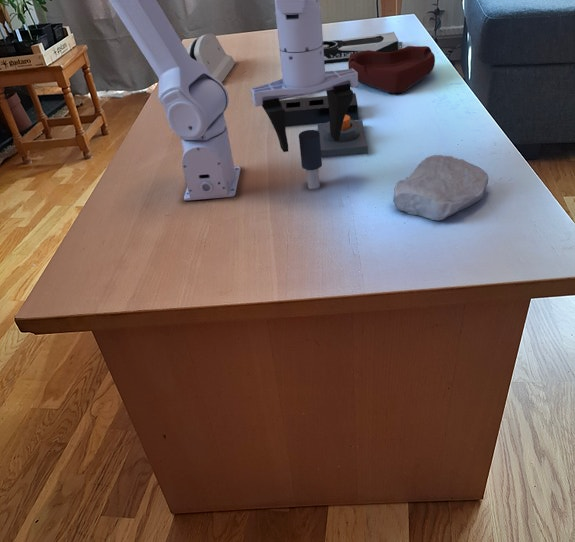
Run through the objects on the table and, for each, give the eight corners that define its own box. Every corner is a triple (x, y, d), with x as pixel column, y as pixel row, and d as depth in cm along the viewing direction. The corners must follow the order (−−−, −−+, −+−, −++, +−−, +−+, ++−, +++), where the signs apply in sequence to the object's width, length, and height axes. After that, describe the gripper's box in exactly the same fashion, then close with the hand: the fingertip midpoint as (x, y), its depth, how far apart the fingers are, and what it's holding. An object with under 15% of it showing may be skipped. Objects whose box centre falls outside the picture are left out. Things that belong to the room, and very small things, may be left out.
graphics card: (402, 40, 127) (295, 52, 129) (402, 55, 129) (297, 66, 131) (396, 29, 135) (295, 40, 137) (396, 43, 137) (297, 54, 139)
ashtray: (352, 101, 110) (351, 75, 107) (347, 74, 123) (346, 51, 120) (443, 92, 108) (444, 66, 105) (428, 66, 121) (429, 43, 118)
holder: (358, 120, 102) (357, 104, 100) (278, 127, 103) (276, 112, 101) (355, 108, 107) (355, 92, 105) (279, 115, 108) (277, 100, 106)
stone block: (489, 198, 78) (427, 171, 83) (499, 171, 75) (434, 144, 79) (450, 241, 72) (385, 209, 76) (459, 213, 68) (391, 181, 73)
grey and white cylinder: (323, 190, 82) (319, 137, 77) (303, 192, 82) (298, 139, 77) (323, 180, 85) (319, 128, 79) (304, 182, 85) (298, 130, 80)
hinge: (219, 85, 126) (197, 44, 121) (202, 93, 128) (179, 52, 123) (235, 62, 139) (215, 24, 134) (219, 70, 141) (199, 32, 136)
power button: (351, 130, 92) (350, 120, 91) (331, 132, 92) (331, 122, 91) (349, 123, 95) (349, 113, 94) (331, 124, 95) (330, 115, 94)
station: (367, 154, 90) (367, 136, 88) (319, 158, 91) (317, 141, 89) (362, 127, 99) (361, 111, 97) (318, 131, 100) (316, 115, 98)
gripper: (344, 29, 75) (348, 124, 83) (241, 48, 73) (255, 143, 82) (362, 41, 70) (364, 141, 78) (251, 62, 68) (266, 162, 76)
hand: (310, 143), depth 79 cm, fingers open, 7 cm apart
